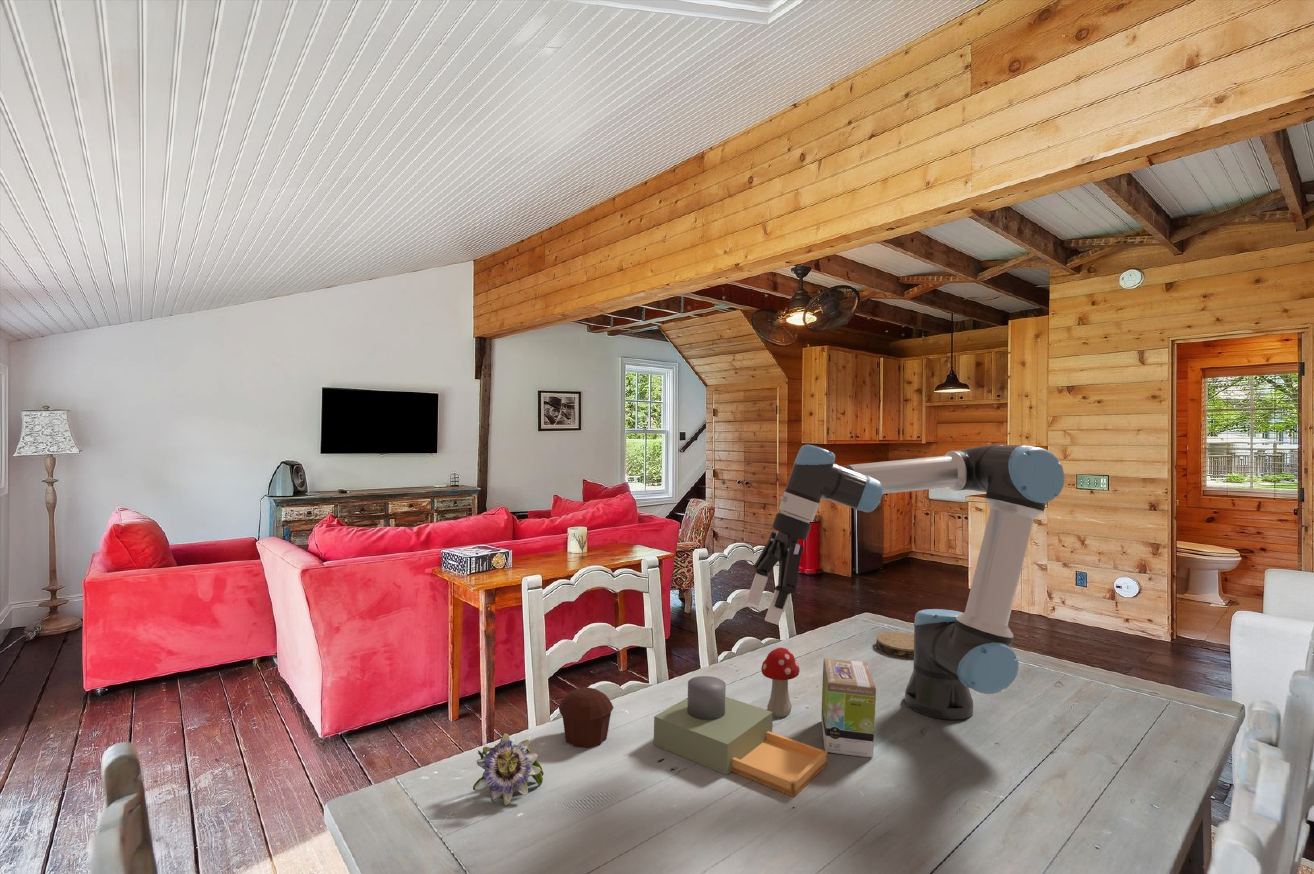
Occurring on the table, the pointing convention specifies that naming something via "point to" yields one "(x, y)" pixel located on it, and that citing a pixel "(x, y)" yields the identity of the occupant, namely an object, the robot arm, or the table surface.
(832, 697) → the tea box
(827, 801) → the table surface
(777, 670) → the decorative mushroom
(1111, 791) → the table surface
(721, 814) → the table surface
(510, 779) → the passion flower
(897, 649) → the wood slice
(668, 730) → the green drawer box
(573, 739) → the muffin
